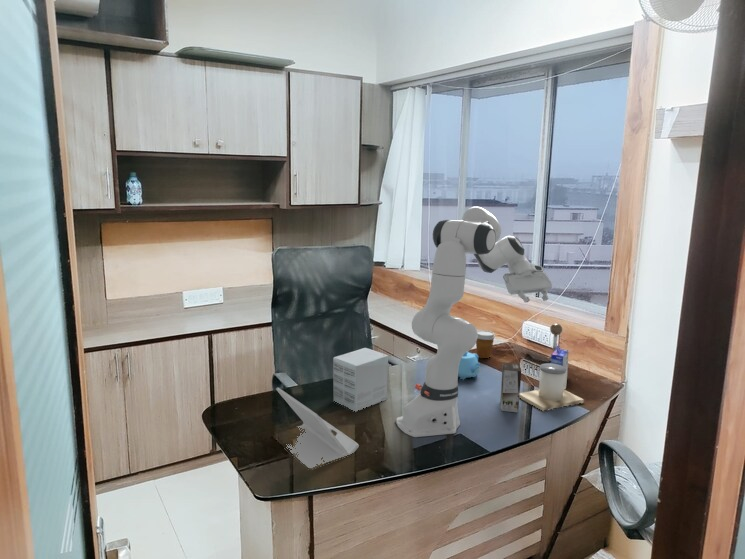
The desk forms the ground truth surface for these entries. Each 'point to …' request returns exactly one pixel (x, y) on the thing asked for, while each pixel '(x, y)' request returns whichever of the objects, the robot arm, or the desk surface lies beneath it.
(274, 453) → the desk surface
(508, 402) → the coffee box
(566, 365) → the ink cartridge box
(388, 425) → the desk surface
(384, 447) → the desk surface
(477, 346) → the disposable coffee cup
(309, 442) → the tablet stand
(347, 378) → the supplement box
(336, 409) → the desk surface
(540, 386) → the white jar with lid
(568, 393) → the oak board
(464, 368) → the blue piggy bank
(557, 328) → the ball-topped rod
